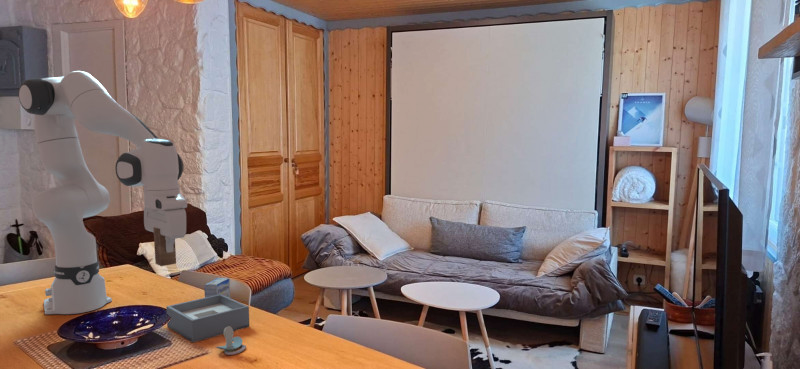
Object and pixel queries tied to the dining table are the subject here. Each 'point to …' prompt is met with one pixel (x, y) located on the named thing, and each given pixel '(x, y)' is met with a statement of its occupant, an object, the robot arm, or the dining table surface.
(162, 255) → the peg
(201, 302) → the bin
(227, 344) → the pacifier
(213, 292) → the medicine box
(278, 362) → the dining table surface
